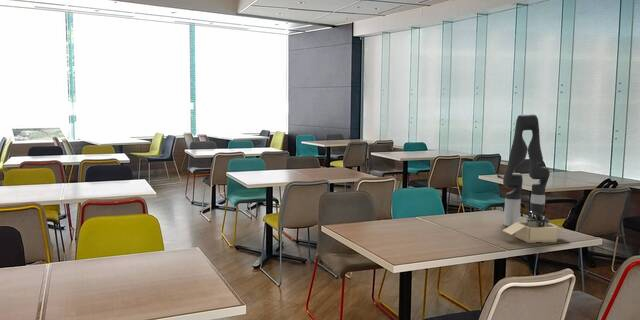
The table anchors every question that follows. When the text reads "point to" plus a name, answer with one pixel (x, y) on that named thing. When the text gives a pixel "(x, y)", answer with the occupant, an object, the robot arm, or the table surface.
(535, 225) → the food container
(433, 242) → the table surface
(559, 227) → the flap back
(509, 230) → the flap front
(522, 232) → the carton
